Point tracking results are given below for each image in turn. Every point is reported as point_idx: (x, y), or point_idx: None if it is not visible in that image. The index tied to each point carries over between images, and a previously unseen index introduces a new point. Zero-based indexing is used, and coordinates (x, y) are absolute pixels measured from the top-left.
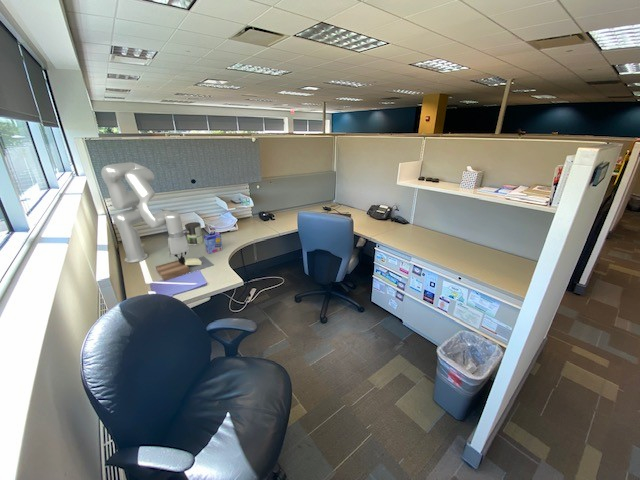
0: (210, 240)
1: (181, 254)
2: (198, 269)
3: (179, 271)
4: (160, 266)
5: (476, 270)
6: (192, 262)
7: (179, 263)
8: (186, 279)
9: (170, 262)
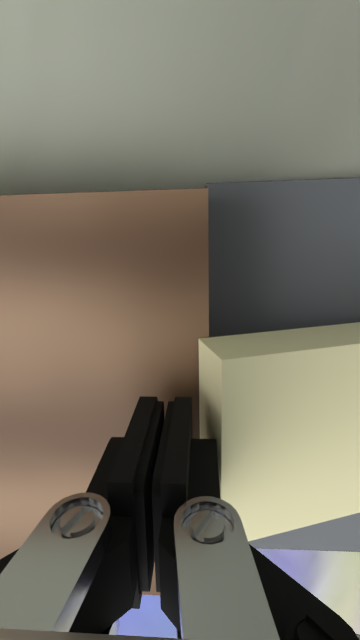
0: None
1: (179, 574)
2: (312, 544)
3: None
4: None
5: None
6: (315, 512)
7: (136, 365)
8: (126, 631)
9: (8, 209)
